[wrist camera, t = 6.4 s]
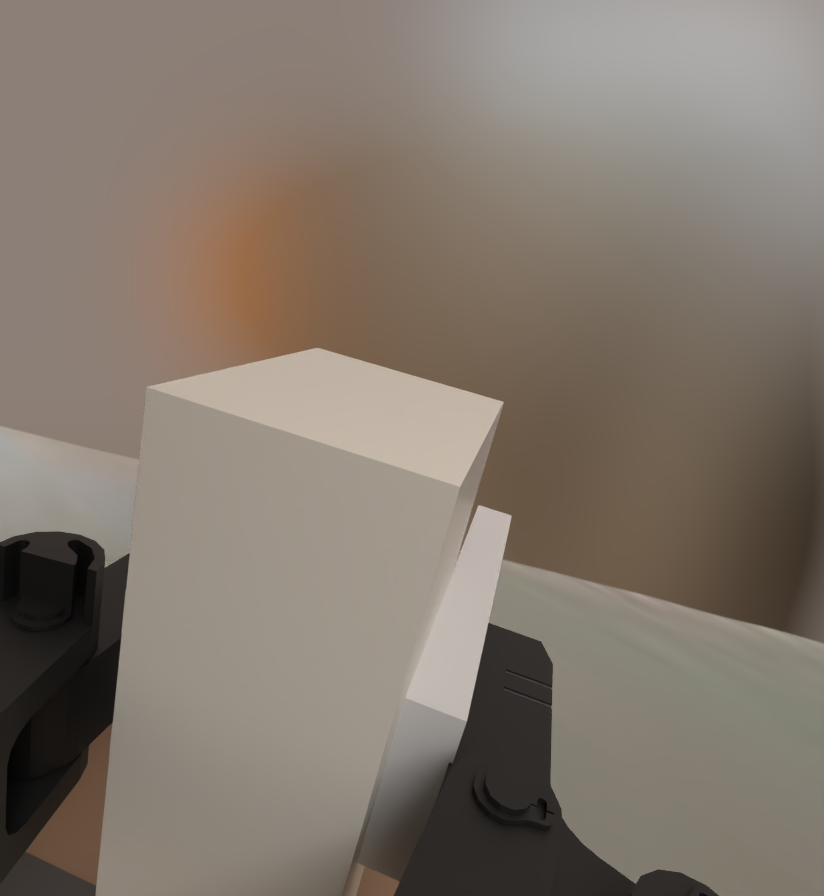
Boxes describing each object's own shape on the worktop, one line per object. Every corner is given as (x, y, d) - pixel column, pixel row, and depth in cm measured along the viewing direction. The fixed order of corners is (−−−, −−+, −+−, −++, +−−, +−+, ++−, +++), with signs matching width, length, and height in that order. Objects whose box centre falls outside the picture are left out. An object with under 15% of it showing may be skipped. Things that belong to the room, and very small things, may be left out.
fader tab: (351, 909, 12) (503, 401, 9) (256, 1191, 8) (460, 486, 5) (221, 850, 12) (317, 347, 9) (75, 1091, 9) (147, 386, 5)
